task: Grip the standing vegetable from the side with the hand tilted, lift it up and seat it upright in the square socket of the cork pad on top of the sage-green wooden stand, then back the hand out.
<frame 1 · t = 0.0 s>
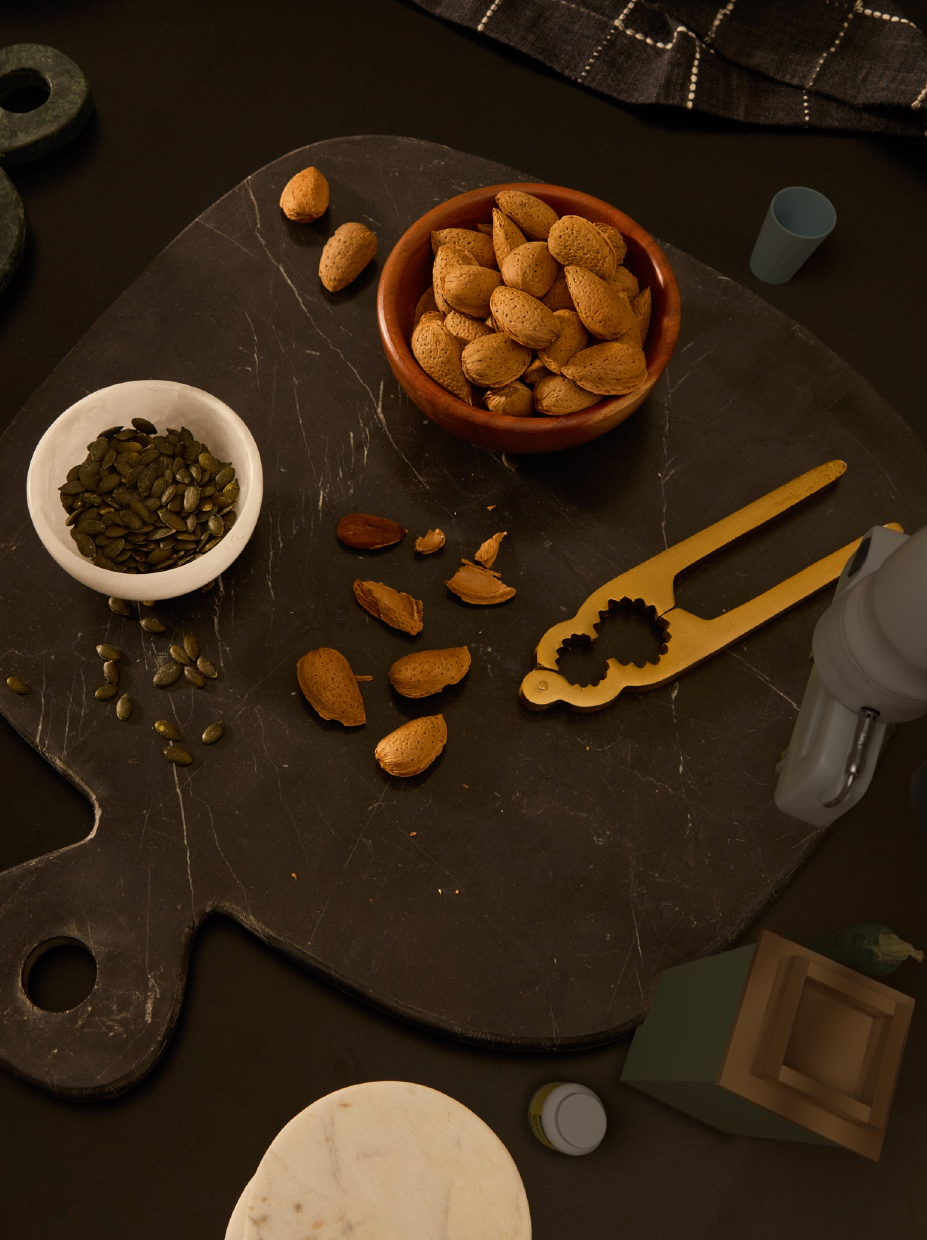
hand: (803, 711, 87), 31 cm above the table, tool pointing down, fingers open, 8 cm apart
supplement bottle: (557, 1116, 102), on the table
vegetable: (806, 963, 109), on the table
stand: (688, 1050, 105), on the table
socket pad: (813, 1042, 80), resting on stand
cup: (769, 269, 144), on the table
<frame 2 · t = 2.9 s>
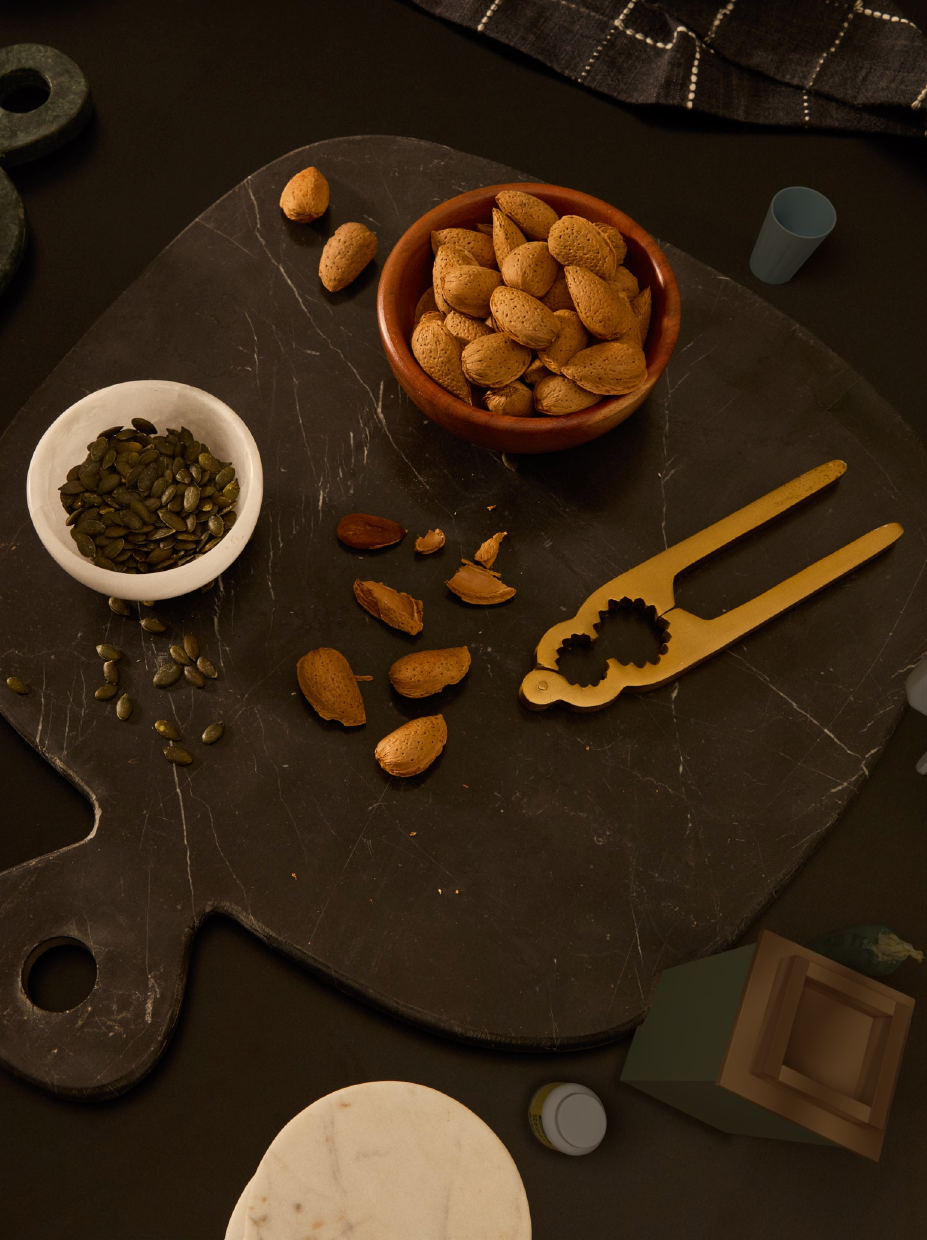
nothing on the table moved.
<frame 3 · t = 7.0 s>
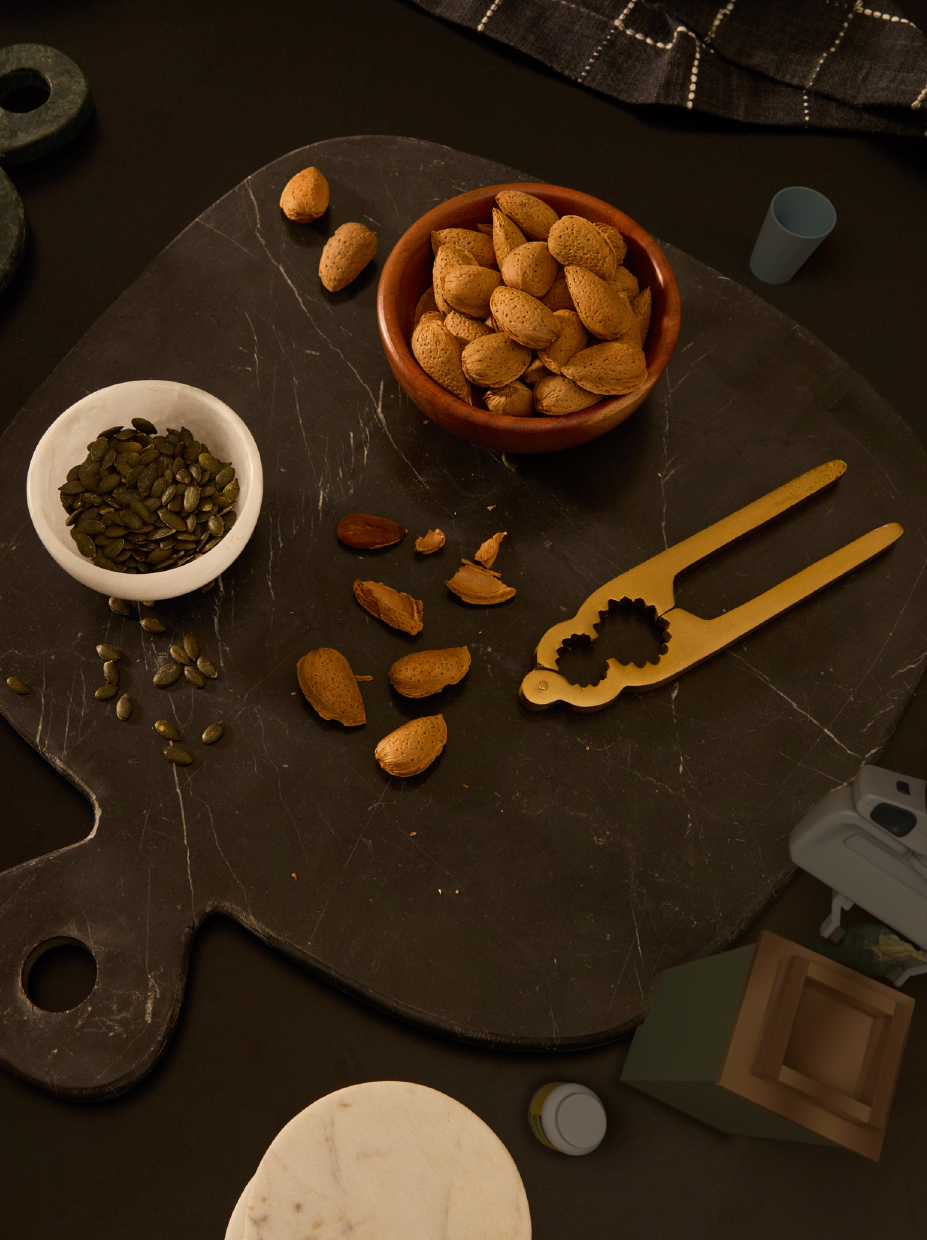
hand: (857, 957, 98), 11 cm above the table, tool tilted 45°, fingers closed on vegetable, 4 cm apart
vegetable: (806, 963, 109), on the table, touching gripper
everything else where it was.
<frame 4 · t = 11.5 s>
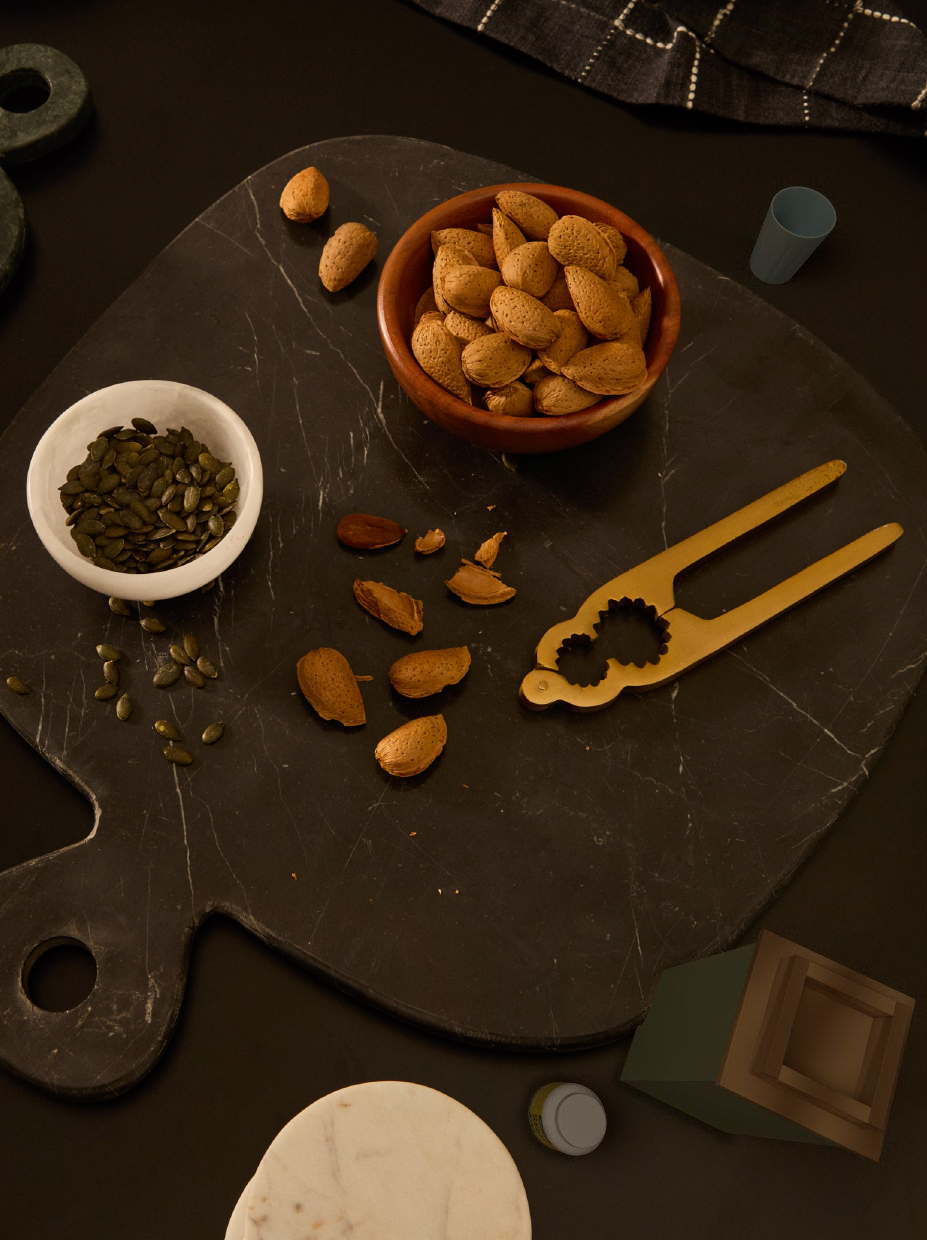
when the fingers open (40 cm above the table, at t = 16.0 s): vegetable stays where it is, resting on socket pad.
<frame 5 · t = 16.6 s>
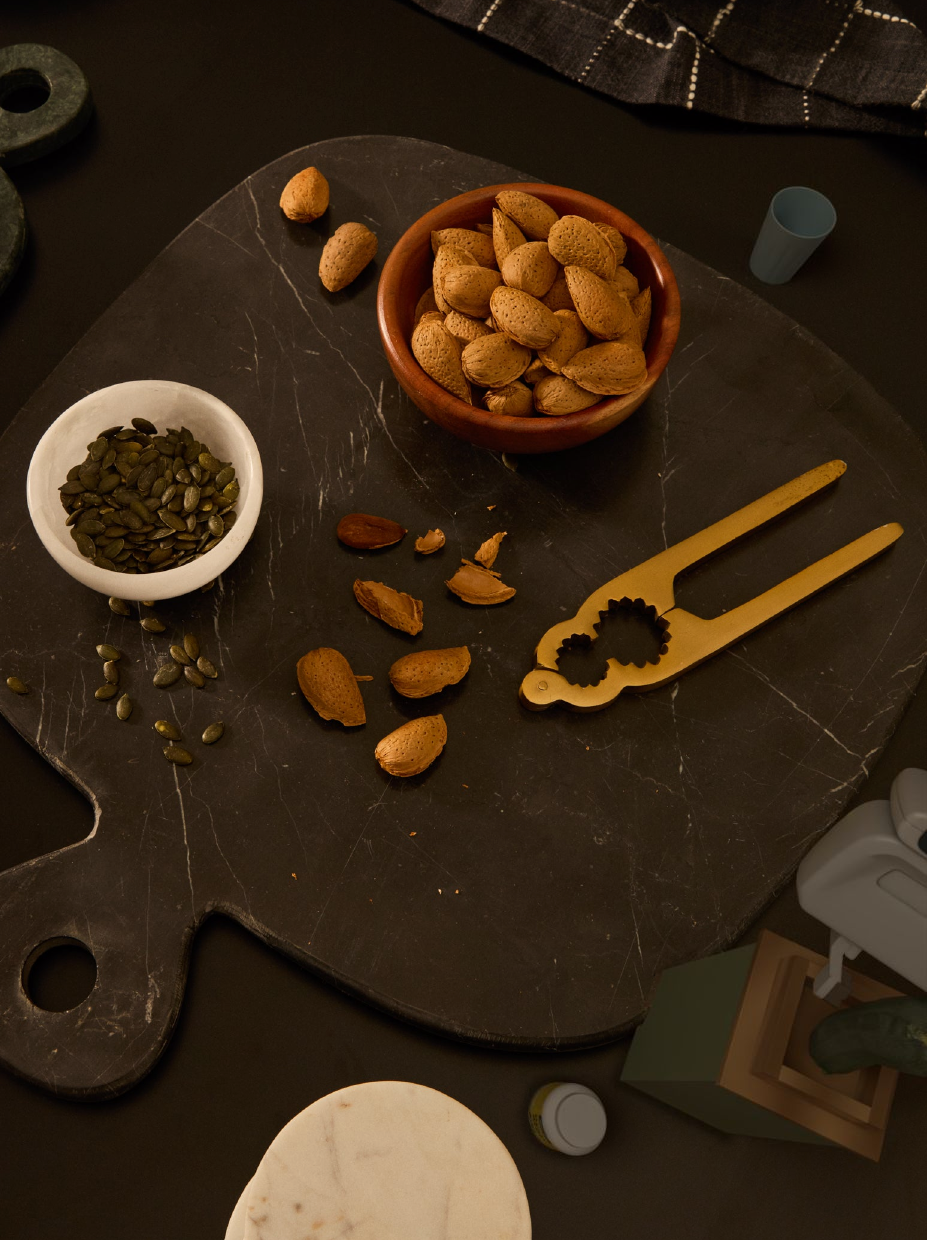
hand: (896, 1045, 68), 41 cm above the table, tool tilted 45°, fingers open, 8 cm apart
vegetable: (821, 1042, 79), point 29 cm above the table, touching socket pad
everything else where it was.
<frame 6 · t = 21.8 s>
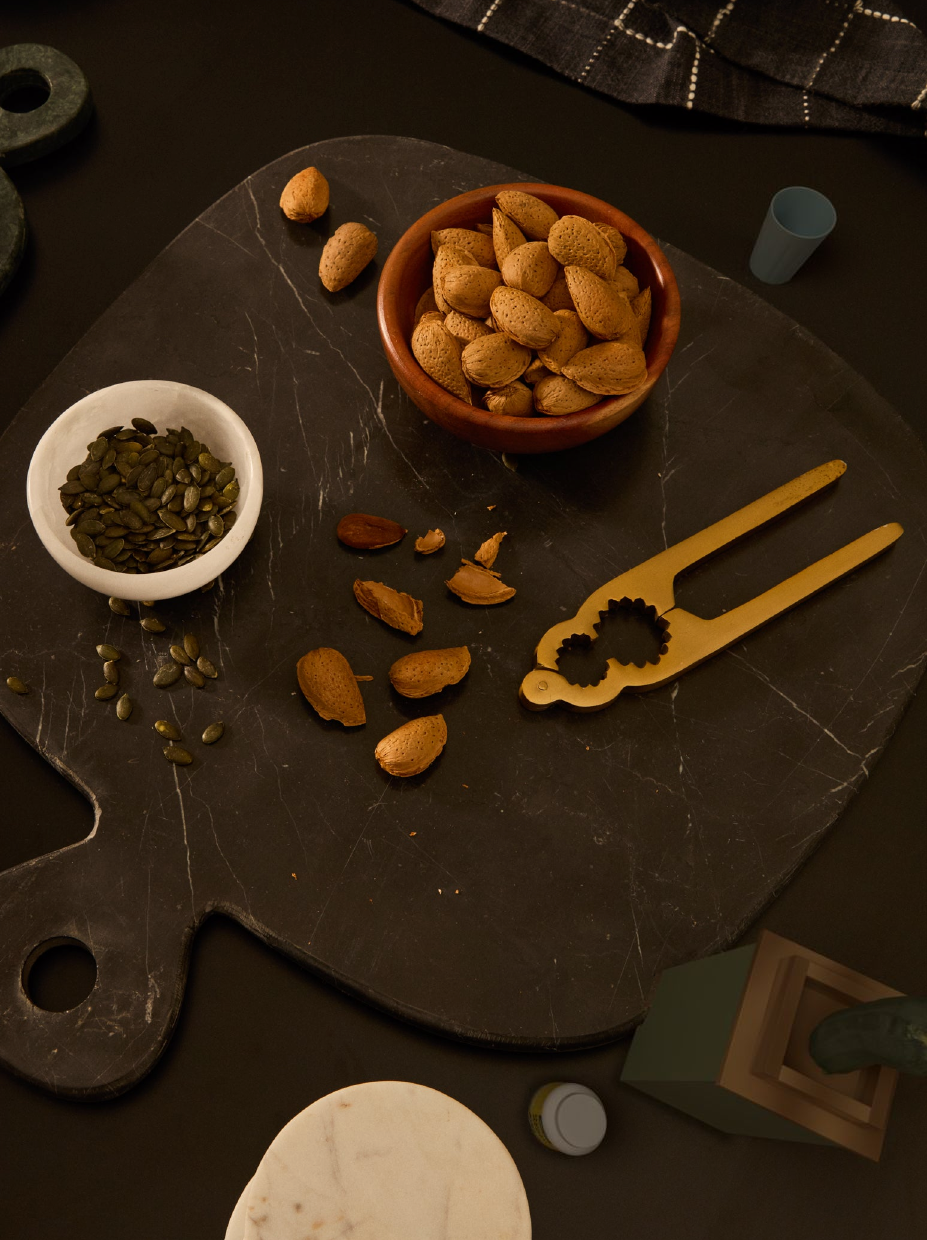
nothing on the table moved.
at the end: vegetable 0.2 cm off-centre on the socket pad, point 0.8 cm above the socket pad's base; vegetable tilted 0°; the gripper is holding nothing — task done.
